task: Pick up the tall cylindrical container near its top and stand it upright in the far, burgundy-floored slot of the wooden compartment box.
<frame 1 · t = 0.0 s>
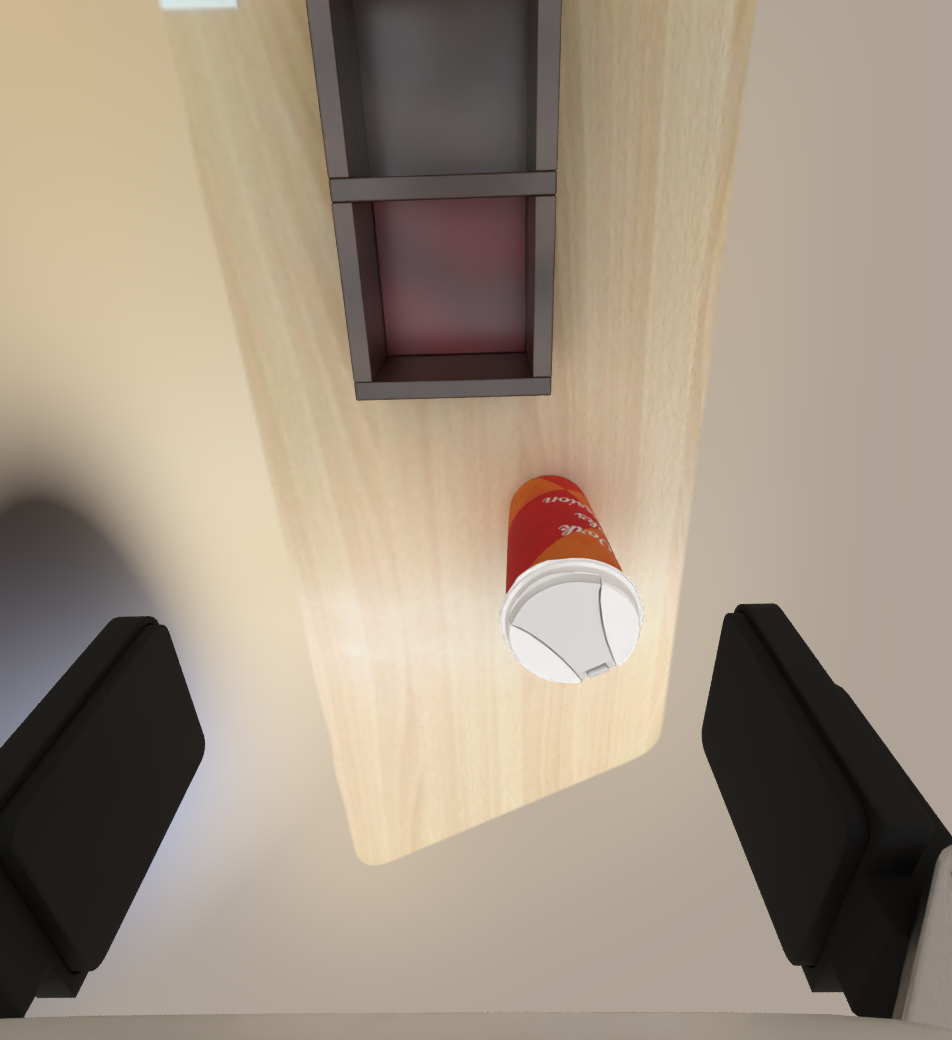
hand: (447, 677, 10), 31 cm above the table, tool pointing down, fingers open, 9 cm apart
wooden compartment box: (449, 187, 34), on the table
paper cup: (547, 508, 44), on the table
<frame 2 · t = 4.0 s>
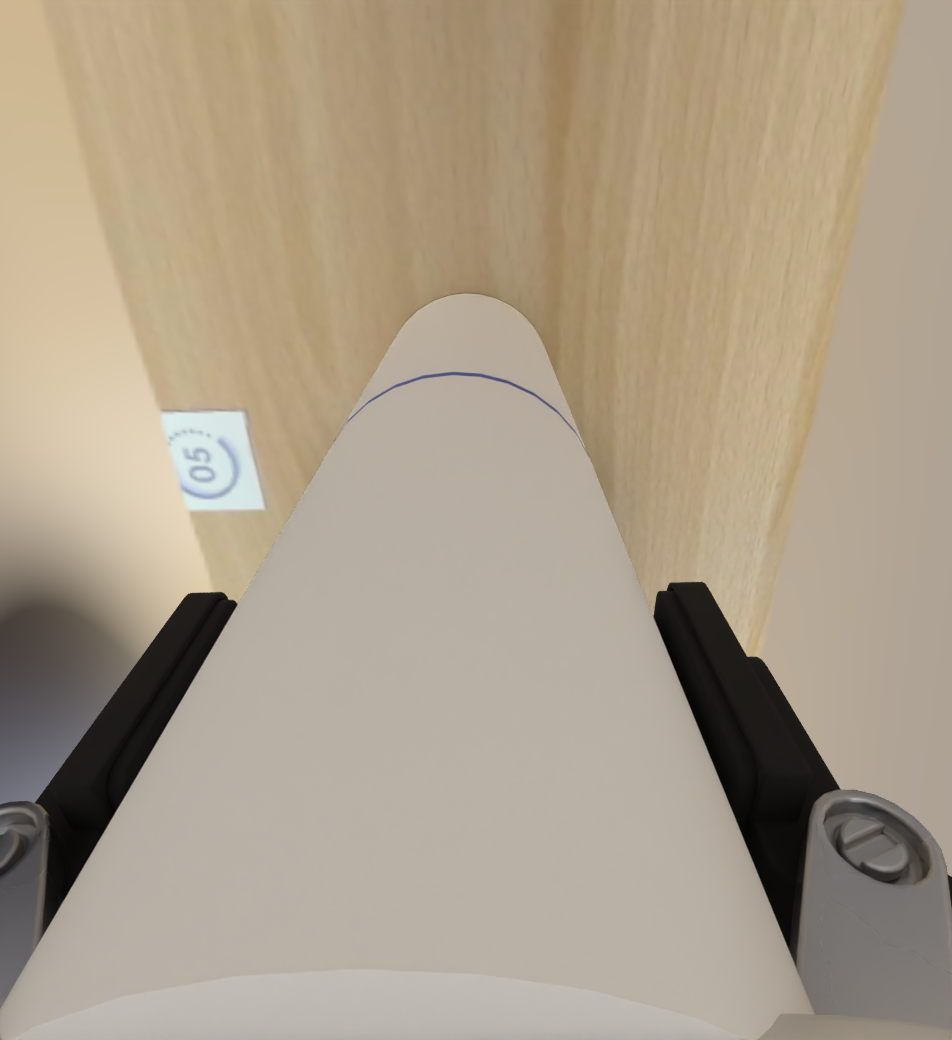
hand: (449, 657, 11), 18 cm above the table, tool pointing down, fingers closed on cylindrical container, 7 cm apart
cylindrical container: (468, 377, 27), on the table, touching gripper
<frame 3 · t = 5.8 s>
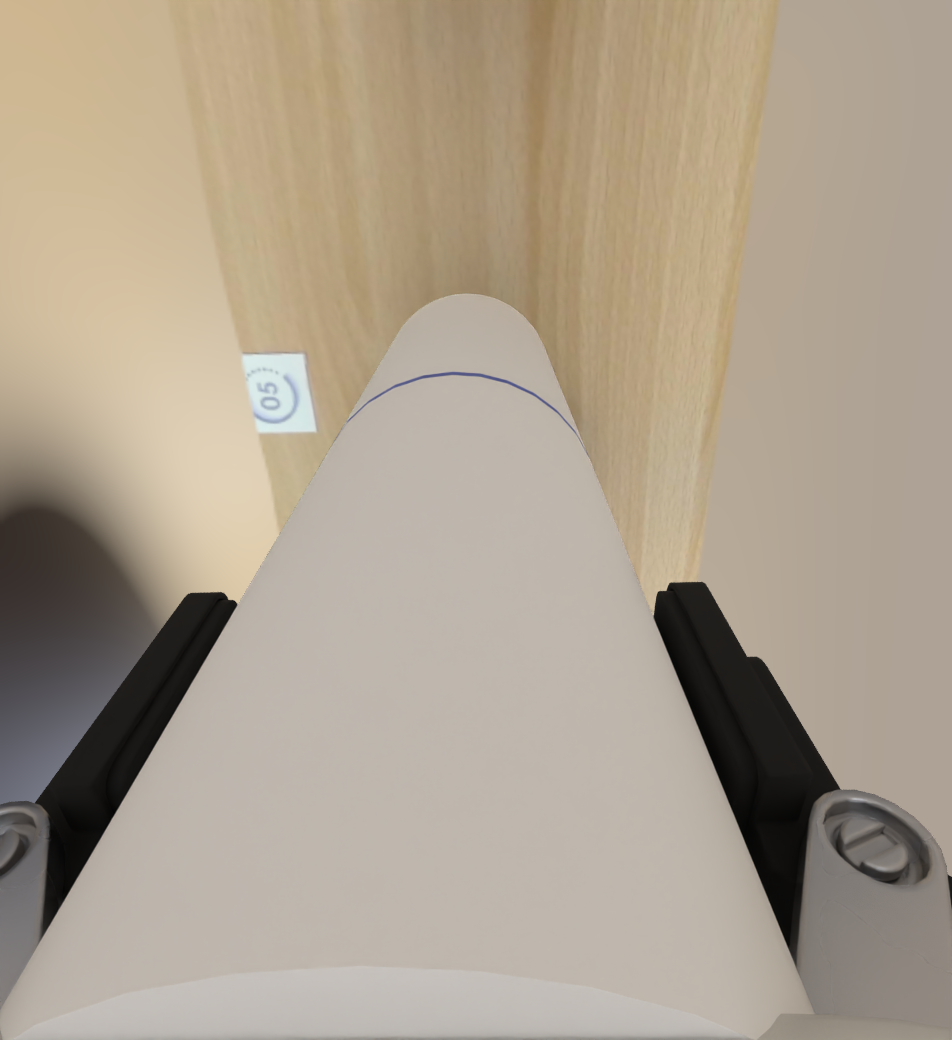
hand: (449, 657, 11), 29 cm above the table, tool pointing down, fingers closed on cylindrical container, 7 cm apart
cylindrical container: (468, 377, 27), point 11 cm above the table, touching gripper
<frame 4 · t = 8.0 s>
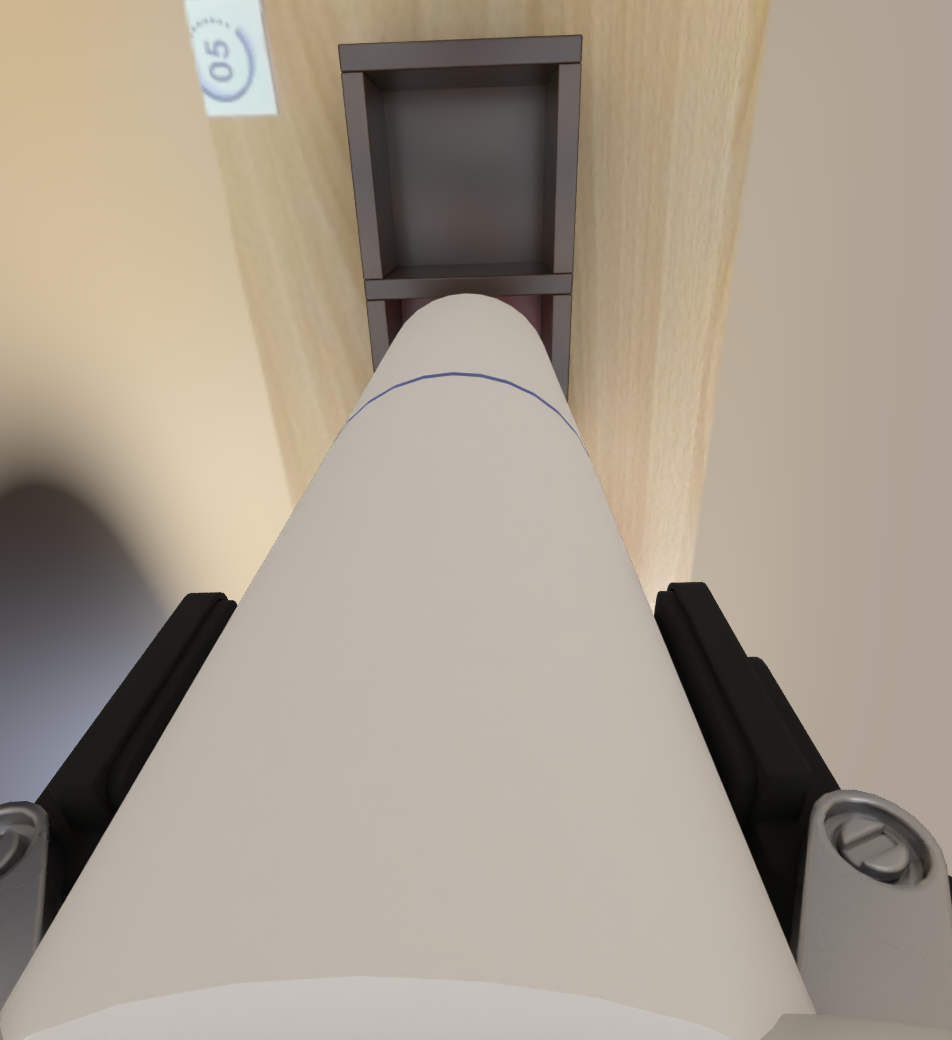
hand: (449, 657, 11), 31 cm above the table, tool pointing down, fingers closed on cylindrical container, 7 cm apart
wooden compartment box: (470, 271, 37), on the table
cylindrical container: (468, 377, 27), point 13 cm above the table, touching gripper
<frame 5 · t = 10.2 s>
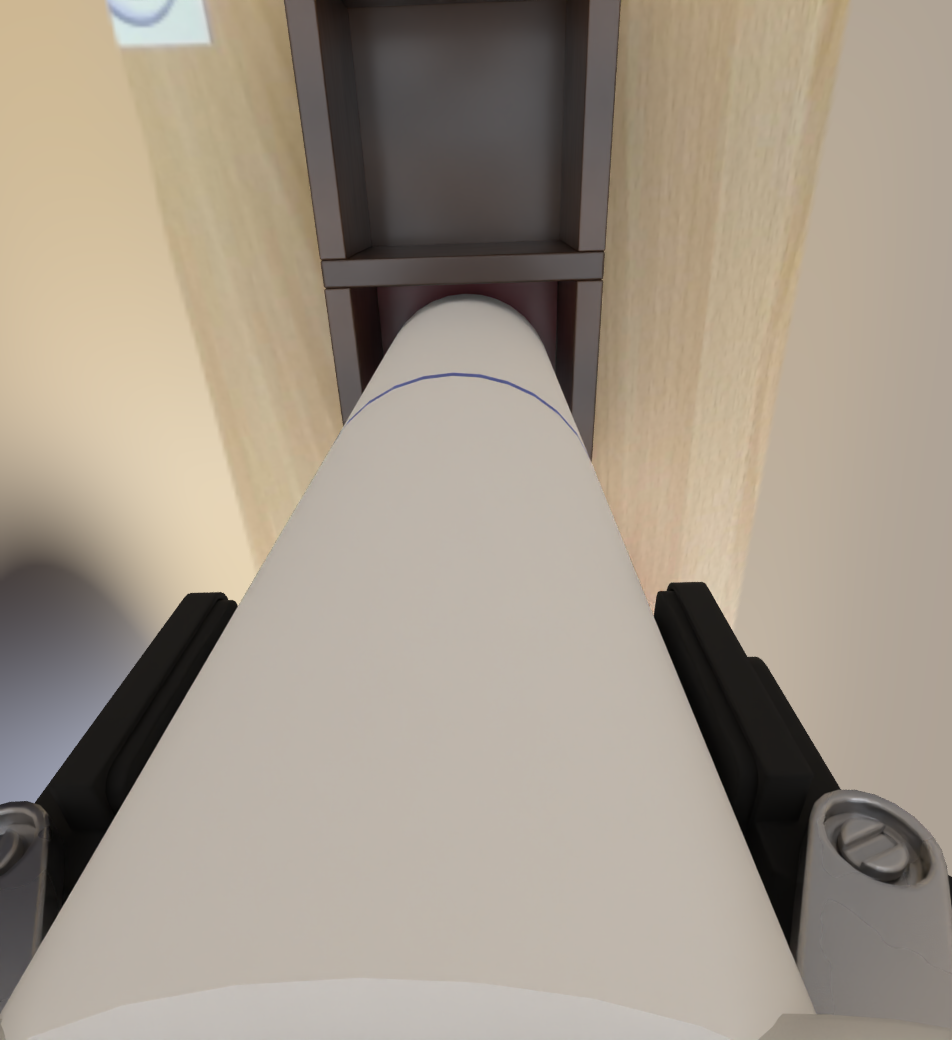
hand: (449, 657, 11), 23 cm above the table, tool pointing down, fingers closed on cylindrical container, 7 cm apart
wooden compartment box: (466, 253, 29), on the table
cylindrical container: (468, 378, 27), point 5 cm above the table, touching gripper
when the fingers open (19 cm above the table, at t = 11.9 s): cylindrical container stays where it is, resting on wooden compartment box.
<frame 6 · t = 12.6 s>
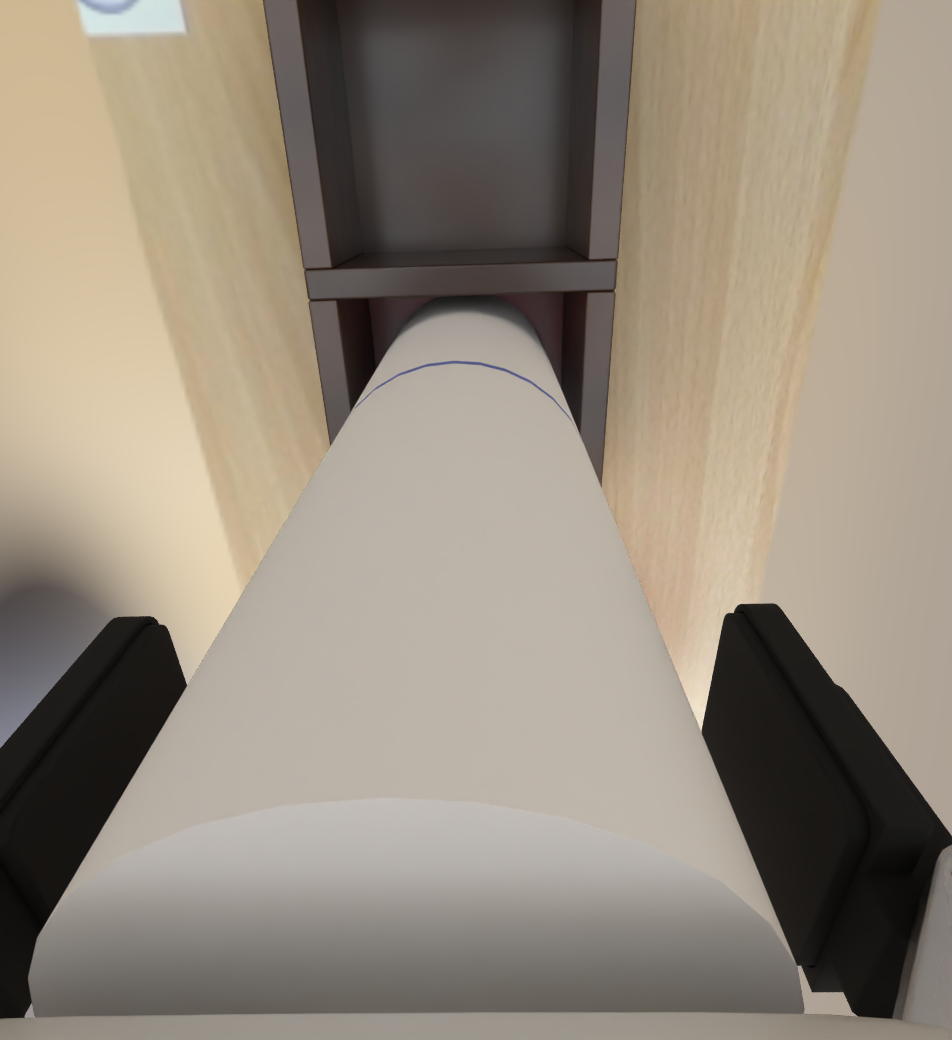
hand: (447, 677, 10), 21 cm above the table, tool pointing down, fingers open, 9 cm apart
wooden compartment box: (465, 260, 27), on the table
cylindrical container: (468, 372, 28), point 1 cm above the table, touching wooden compartment box
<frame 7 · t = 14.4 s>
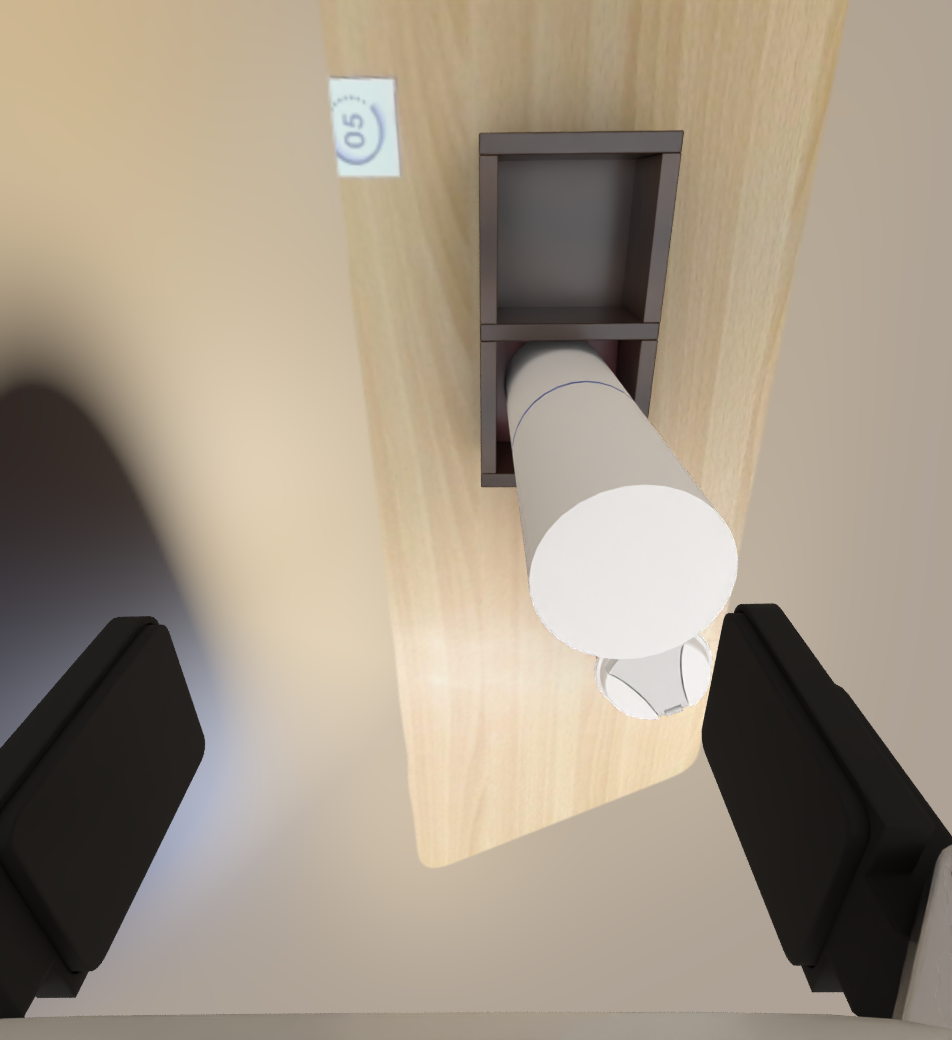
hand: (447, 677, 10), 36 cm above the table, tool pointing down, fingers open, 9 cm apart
wooden compartment box: (556, 312, 42), on the table
cylindrical container: (554, 383, 44), point 1 cm above the table, touching wooden compartment box
paper cup: (614, 564, 52), on the table
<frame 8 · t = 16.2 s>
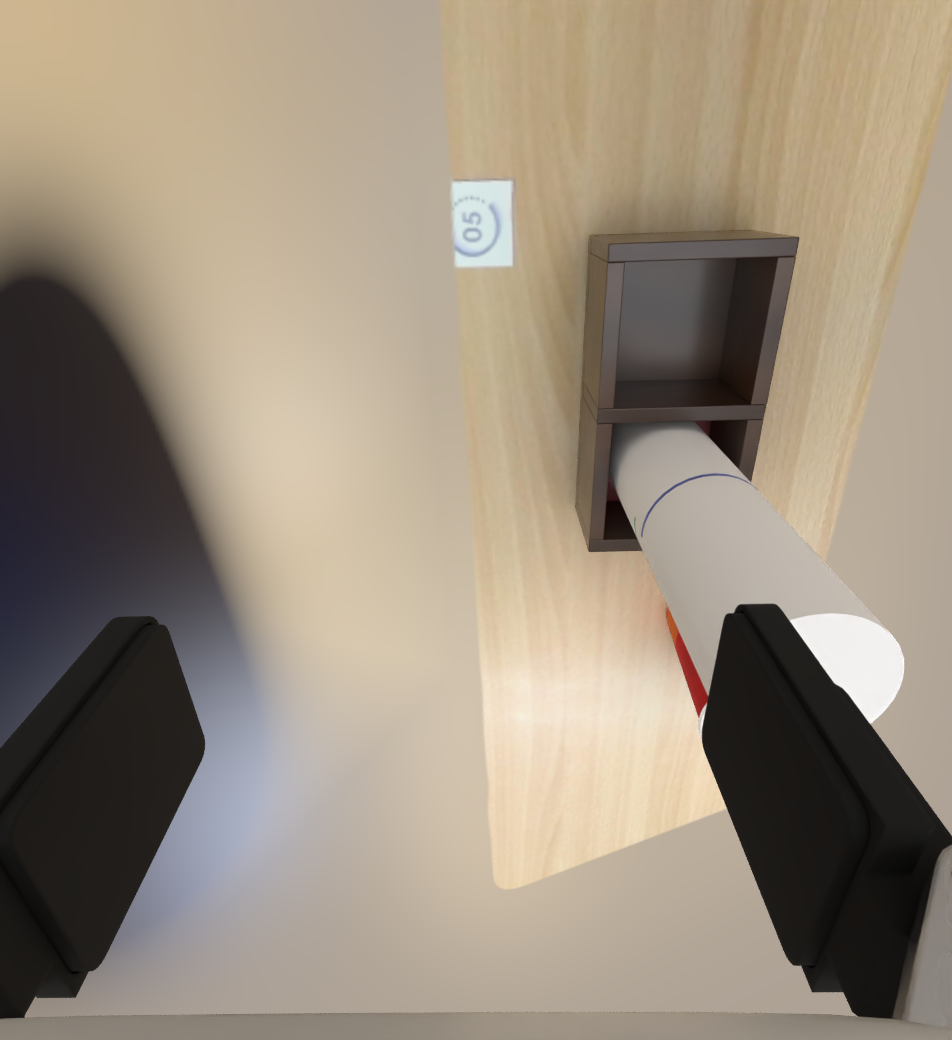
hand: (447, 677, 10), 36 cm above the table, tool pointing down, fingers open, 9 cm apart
wooden compartment box: (653, 383, 45), on the table
cylindrical container: (650, 448, 46), point 1 cm above the table, touching wooden compartment box
paper cup: (696, 608, 55), on the table
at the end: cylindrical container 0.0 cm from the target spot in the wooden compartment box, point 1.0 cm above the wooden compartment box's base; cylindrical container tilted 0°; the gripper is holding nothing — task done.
